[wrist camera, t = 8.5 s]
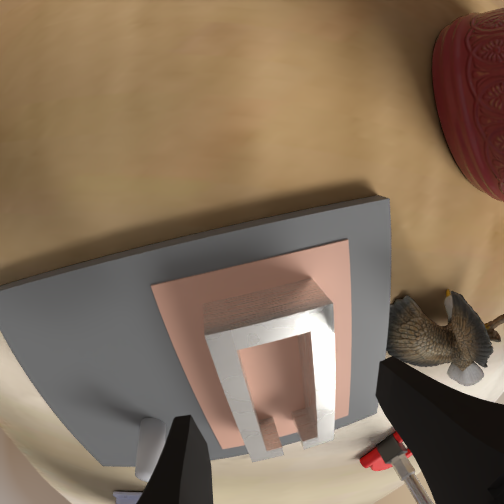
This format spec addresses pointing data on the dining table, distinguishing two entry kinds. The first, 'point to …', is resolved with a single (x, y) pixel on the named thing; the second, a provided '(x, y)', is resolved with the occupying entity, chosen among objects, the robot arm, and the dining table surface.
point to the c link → (268, 330)
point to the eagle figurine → (442, 338)
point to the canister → (473, 96)
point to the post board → (200, 330)
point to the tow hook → (396, 465)
